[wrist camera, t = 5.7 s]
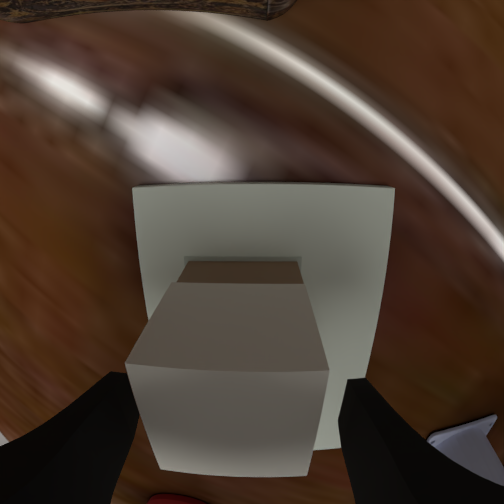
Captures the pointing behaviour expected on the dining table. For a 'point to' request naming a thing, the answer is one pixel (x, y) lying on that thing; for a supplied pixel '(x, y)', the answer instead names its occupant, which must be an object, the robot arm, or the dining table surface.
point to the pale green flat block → (278, 256)
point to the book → (138, 7)
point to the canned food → (173, 499)
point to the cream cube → (231, 379)
